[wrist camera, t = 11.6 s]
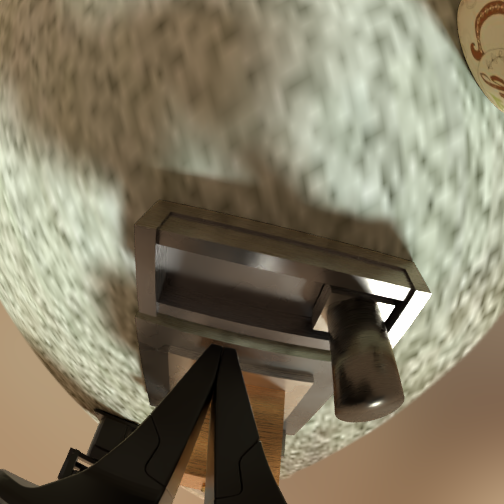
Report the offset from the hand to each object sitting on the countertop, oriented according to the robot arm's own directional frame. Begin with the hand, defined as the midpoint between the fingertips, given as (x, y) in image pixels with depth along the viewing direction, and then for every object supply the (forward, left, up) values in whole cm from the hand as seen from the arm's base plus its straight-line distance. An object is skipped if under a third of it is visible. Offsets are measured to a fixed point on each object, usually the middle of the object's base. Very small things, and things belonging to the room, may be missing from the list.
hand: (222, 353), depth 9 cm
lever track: (+1, -2, -4) cm, 5 cm away
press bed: (-9, -1, -4) cm, 10 cm away
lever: (+1, -5, -3) cm, 6 cm away
